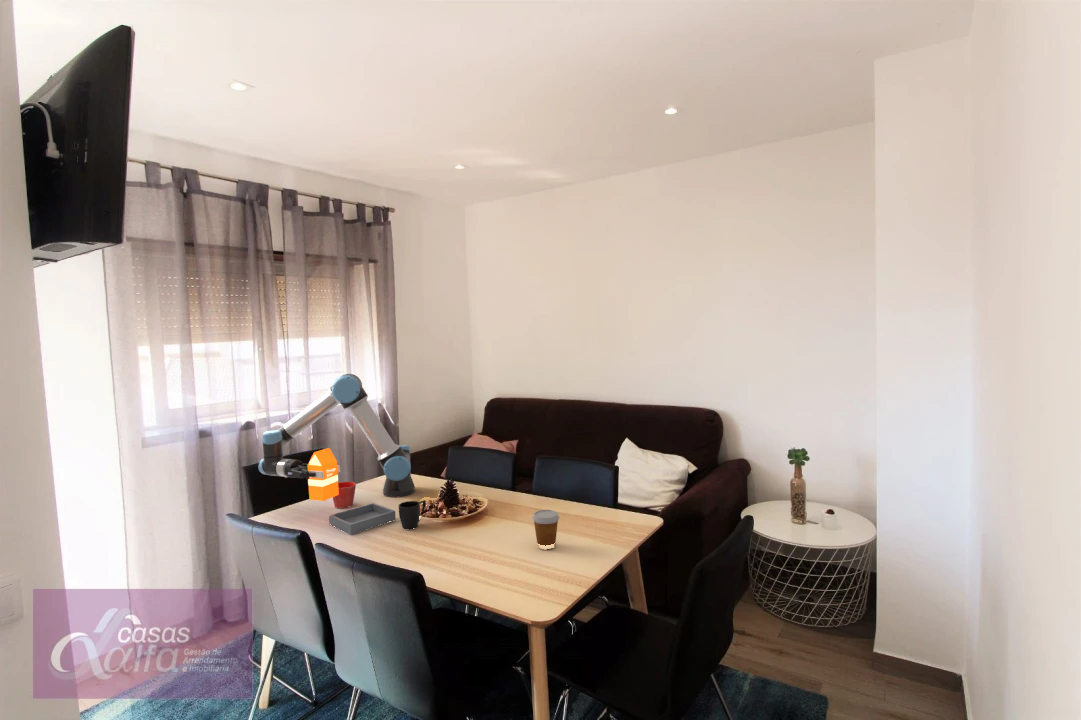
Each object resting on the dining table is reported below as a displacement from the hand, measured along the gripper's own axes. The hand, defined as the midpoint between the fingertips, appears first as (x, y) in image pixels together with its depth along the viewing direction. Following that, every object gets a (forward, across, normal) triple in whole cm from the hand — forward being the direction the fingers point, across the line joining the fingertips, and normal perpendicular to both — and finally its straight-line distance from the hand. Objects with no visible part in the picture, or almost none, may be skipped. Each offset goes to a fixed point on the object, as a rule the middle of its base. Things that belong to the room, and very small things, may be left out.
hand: (331, 471), depth 218 cm
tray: (+13, -2, -21) cm, 25 cm away
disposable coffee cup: (+94, -4, -22) cm, 96 cm away
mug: (+36, -6, -21) cm, 42 cm away
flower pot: (-10, -17, -21) cm, 29 cm away
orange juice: (-5, 0, -11) cm, 12 cm away
